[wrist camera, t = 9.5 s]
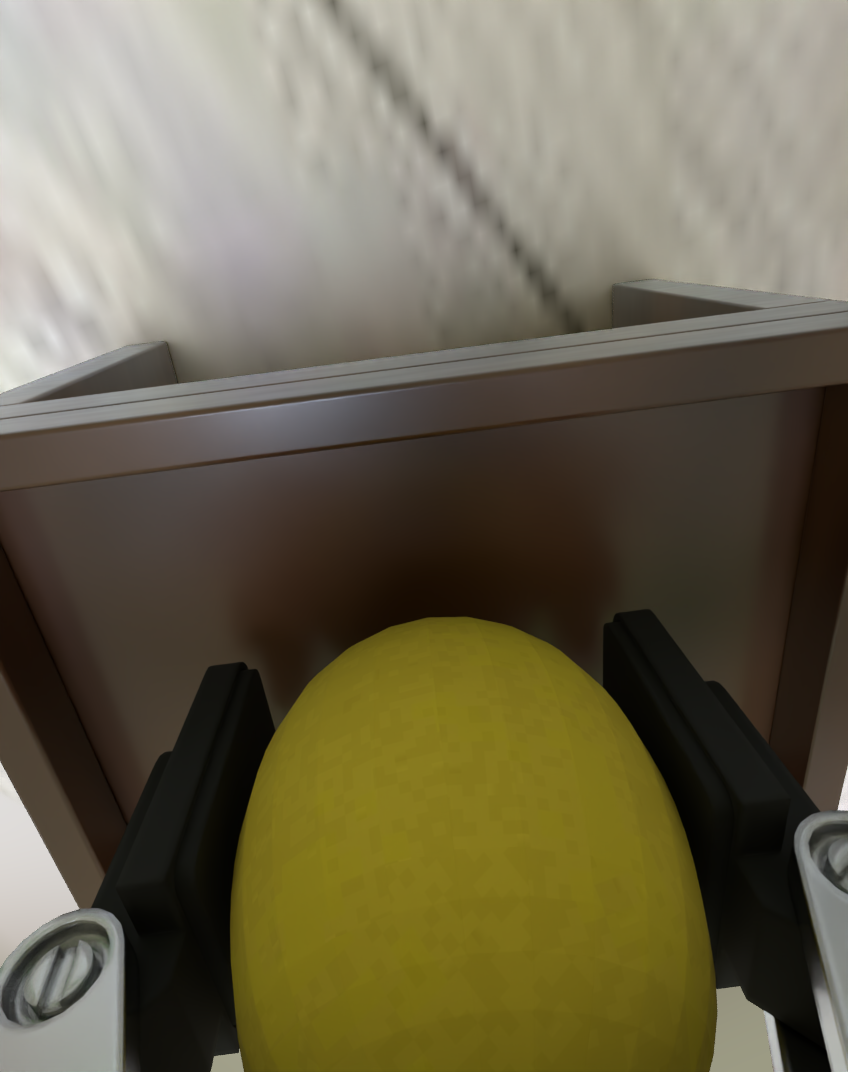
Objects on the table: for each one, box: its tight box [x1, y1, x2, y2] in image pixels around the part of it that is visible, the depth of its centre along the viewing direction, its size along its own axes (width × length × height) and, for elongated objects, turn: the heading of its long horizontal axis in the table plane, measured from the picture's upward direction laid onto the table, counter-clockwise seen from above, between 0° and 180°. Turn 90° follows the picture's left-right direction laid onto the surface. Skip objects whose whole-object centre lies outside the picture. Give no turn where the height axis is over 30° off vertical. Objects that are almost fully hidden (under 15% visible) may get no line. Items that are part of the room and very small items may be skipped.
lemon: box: [230, 617, 717, 1072], centre depth 8 cm, size 6×6×8 cm
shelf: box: [0, 279, 848, 909], centre depth 15 cm, size 15×11×10 cm
